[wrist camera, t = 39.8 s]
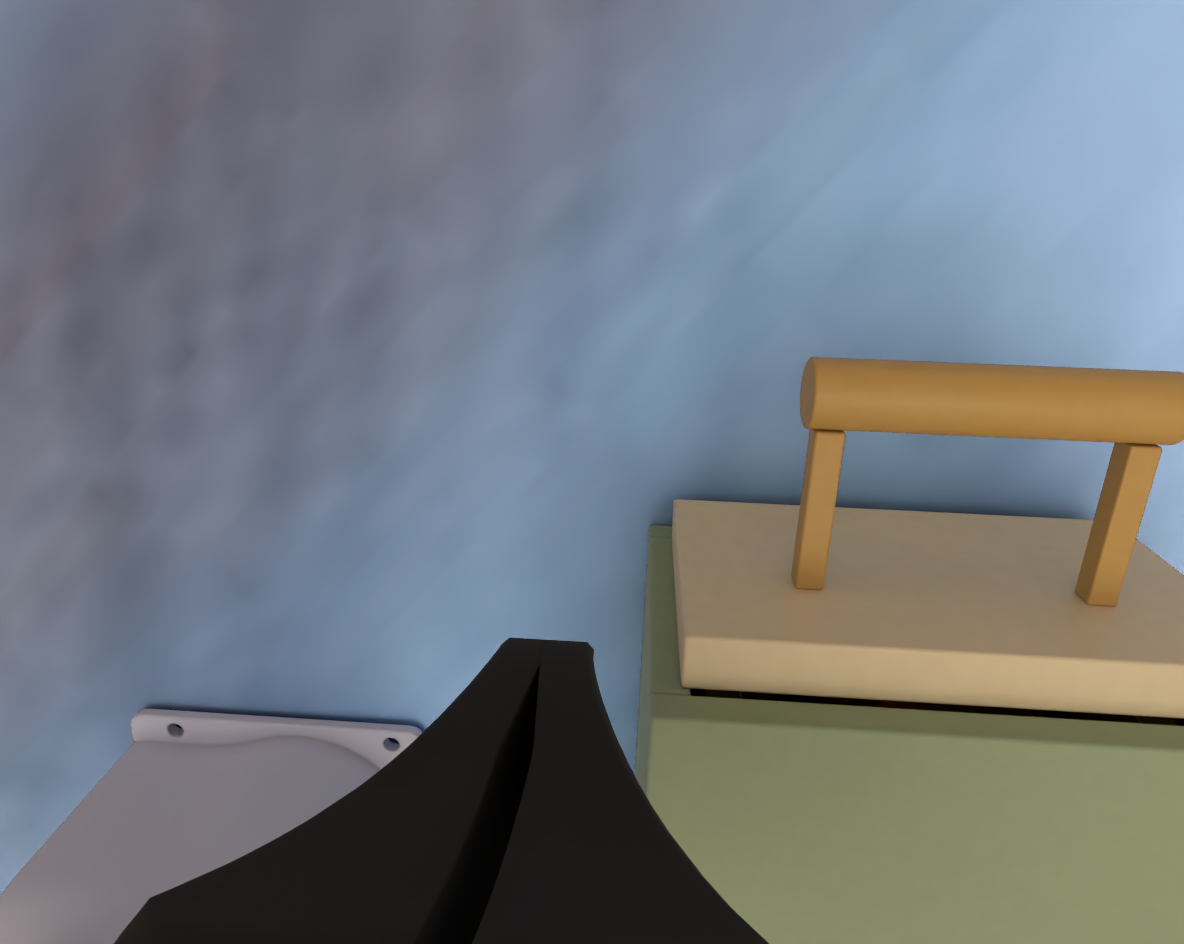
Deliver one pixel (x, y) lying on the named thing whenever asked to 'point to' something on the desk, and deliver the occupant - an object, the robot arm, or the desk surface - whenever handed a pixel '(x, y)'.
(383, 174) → the desk surface
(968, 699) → the drawer
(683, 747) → the cabinet
